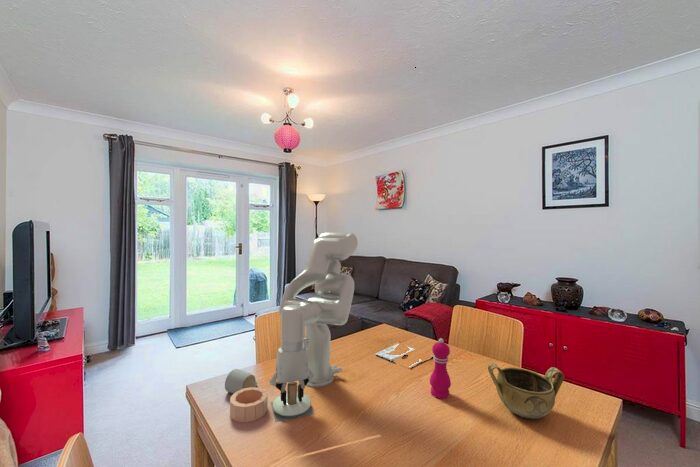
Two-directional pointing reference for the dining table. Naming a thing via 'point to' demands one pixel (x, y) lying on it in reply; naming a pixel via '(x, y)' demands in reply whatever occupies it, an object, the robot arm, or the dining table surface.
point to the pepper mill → (440, 370)
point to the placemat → (281, 417)
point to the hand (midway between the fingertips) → (292, 400)
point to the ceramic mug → (239, 381)
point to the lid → (291, 402)
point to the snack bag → (393, 357)
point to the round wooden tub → (248, 404)
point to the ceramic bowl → (527, 390)
